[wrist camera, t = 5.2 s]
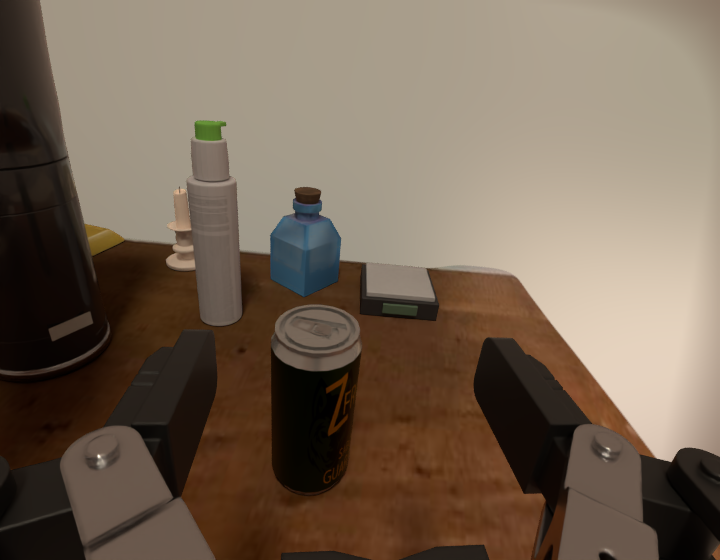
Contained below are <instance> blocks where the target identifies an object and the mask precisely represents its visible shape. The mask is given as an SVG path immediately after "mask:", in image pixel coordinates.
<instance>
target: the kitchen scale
mask: <svg viewBox="0 0 720 560" xmlns="http://www.w3.org/2000/svg"><path fill="white" fill-rule="evenodd" d="M438 308H439V303H438V300H437V297H436V294H435V290H434V287H433V284H432V281H431V278H430V275H429V272H428V270H426V268H423V267H412V266H401V265H390V264H379V263H368V262H367V263H366V265H363V264H362V270H361V285H360V314H366V315H377V316H389V317H400V318H412V319H423V320H436V317H437V313H438Z"/></svg>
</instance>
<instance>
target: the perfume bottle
mask: <svg viewBox="0 0 720 560" xmlns="http://www.w3.org/2000/svg"><path fill="white" fill-rule="evenodd" d="M294 191H295V196H296V198H295V199H293V209H294V210H295V213H294V214H291V215H287V216H284V217H283V218H282V219H281V221H280V222H279V223H278V225H277V226H276V228H275V229H274V230H273V232H272V233H271V235H270V236H271V238H270V241H271V279H272V280H274V281H275V282H277V283H279V284H281V285H283V286H285V287H286V288H288V289H290V290H292V291H294V292H296V293H297V294H299V295H301V296H303V297H305V296H307V295H310V294H312V293H314V292H316V291H318V290H320V289H322V288H324V287H327V286H329V285H331V284H333V283H335V282H337V281H338V270H339V258H340V246H341V237H340V236H339V234H338V232H337V230H336V229H335V227H334V225H333V223H332V222H331V220H330V219H328V218H326V217H323V216H321V215H319V212H320V211H321V209H322V201H321V200H320V195H321V191H320V190H318V189H316V188H310V187H300V188H296V189H295V190H294Z"/></svg>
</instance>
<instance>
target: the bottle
mask: <svg viewBox="0 0 720 560" xmlns="http://www.w3.org/2000/svg"><path fill="white" fill-rule="evenodd" d="M221 126H226V122H222V121H217V122H215V121H196V122H195V137H193V138H191V157H192V169H193V176H190V177H188V178H187V191H188V201H189V210H190V220H191V230H192V239H193V249H194V259H195V268H196V278H197V288H198V297H199V307H200V317H201V319H202V321H203V322H205V323H206V324H208V325H212V326H226V325H230V324H233V323H235V322H237V321H238V320H239V319H240V318H241V316H242V296H241V274H240V252H239V230H238V209H237V187H236V179H235V178H233V177H231V176H229V162H228V151H227V143H226V139H223V138H221Z"/></svg>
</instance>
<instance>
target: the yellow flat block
mask: <svg viewBox="0 0 720 560" xmlns="http://www.w3.org/2000/svg"><path fill="white" fill-rule="evenodd" d="M85 229H86V233H87V237H88V241H89V246H90V250H91V254H92V256H94V255H96V254H98V253H100V252H102V251H104V250H107V249H109V248H111V247H113V246H115V245H117V244H119V243H121V242H123V241H124V239H123V238H122V237H121V236H120V235H118V234H117V233H115V232H113V231H111V230H109V229H106V228H101V227H97V226H92V225H87V224H85Z"/></svg>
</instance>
